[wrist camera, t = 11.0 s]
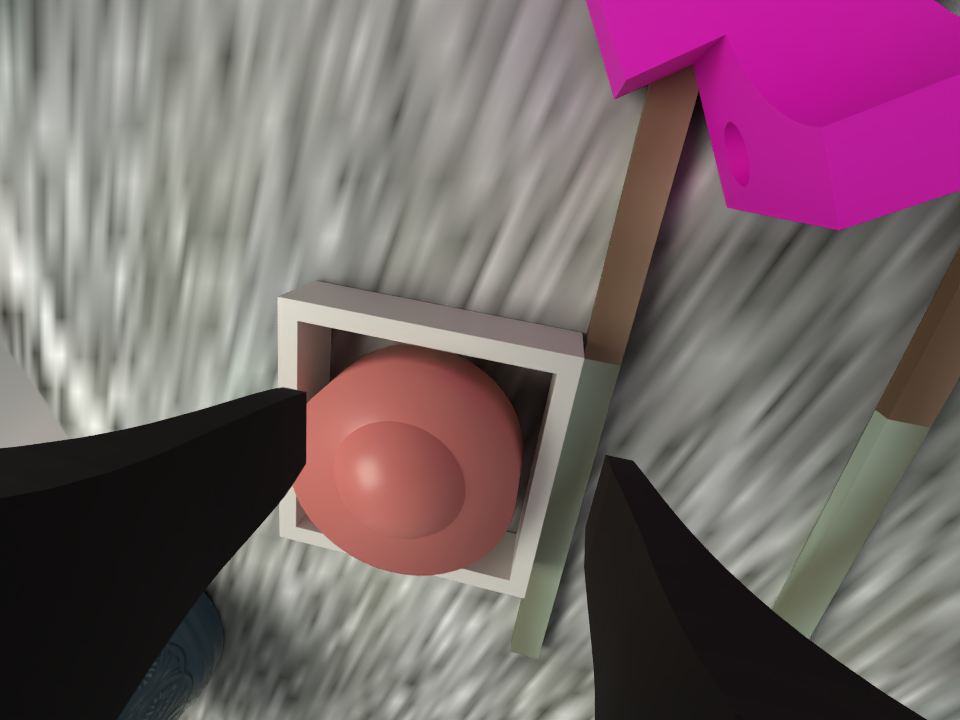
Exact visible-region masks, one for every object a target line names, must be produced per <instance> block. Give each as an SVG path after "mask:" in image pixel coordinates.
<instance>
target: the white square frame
mask: <svg viewBox="0 0 960 720" xmlns="http://www.w3.org/2000/svg"><path fill="white" fill-rule="evenodd" d="M332 328H335V329H340V330H345V331H349V332H354V333H359V334H364V335H369V336H374V337H379V338H384V339H389V340H393V341H398V342H403V343H408V344H413V345H418V346H423V347H428V348H432V349H437V350H442V351H447V352H452V353H457V354H462V355H467V356H472V357H476V358H481V359H486V360H491V361H496V362H501V363H506V364H511V365H516V366H520V367H525V368H530V369H535V370H540V371H545V372H550V373H553V375H552V379H551V383H550V388H549V392H548V397H547V401H546V405H545V410H544V414H543V419H542V423H541V428H540V432H539V436H538V441H537V445H536V450H535V454H534V458H533V463H532V467H531V472H530V476H529V481H528V485H527V489H526V494H525V498H524V503H523V507H522V512H521V516H520V520H519V525H518V529H517V534H515V533H511V532H506V533H505V535H504V536H503V537H502V539H501V540H500V542H499V543H498V544H497V545H496V546H495V547H494V548H493V549H492V550H491V551H490V552H489V553H488V554H487V555H485V556H484V557H483V558H481V559H480V560H478V561H476V562H475V563H473V564H471V565H469V566H467V567H464V568H462V569H459V570H456V571H453V572H448V573H444V574H437V575H434V576H438V577H442V578H446V579H450V580H453V581H457V582H461V583H465V584H469V585H473V586H477V587H481V588H485V589H489V590H493V591H497V592H501V593H505V594H509V595H513V596H516V597H520V598H525V594H526V590H527V586H528V582H529V578H530V574H531V570H532V566H533V562H534V558H535V554H536V550H537V546H538V542H539V538H540V534H541V530H542V526H543V522H544V518H545V514H546V510H547V506H548V502H549V498H550V494H551V490H552V486H553V482H554V478H555V474H556V470H557V466H558V462H559V458H560V454H561V450H562V446H563V442H564V438H565V434H566V430H567V426H568V422H569V418H570V414H571V410H572V406H573V402H574V398H575V394H576V390H577V386H578V382H579V378H580V374H581V370H582V366H583V362H584V348H583V336H582V333H581V332H576V331H571V330H566V329H561V328H556V327H550V326H545V325H540V324H535V323H530V322H525V321H520V320H515V319H509V318H504V317H499V316H494V315H489V314H484V313H479V312H474V311H468V310H463V309H458V308H453V307H448V306H443V305H438V304H432V303H427V302H422V301H417V300H412V299H407V298H402V297H397V296H391V295H386V294H381V293H376V292H371V291H366V290H361V289H355V288H350V287H345V286H340V285H335V284H330V283H325V282H320V281H314V282H312V283H309V284H307V285H305V286H302V287H300V288H297V289H295V290H293V291H290V292H288V293H285V294H283V295H281V296H278V388H281V387H285V388H290V389H295V390H300V391H304V392H307V403H308V402H309V401H310V400H311V399H312V398H313V397H314V396H315V395H316V394H317V393H318V392H320V391H321V390H322V389H323V388H324V387H325V386H326V385H328V384H329V383H330V362H331V334H332ZM279 514H280V537H284V538H288V539H292V540H296V541H300V542H304V543H308V544H312V545H316V546H320V547H324V548H327V549H331V550H335V551H339V552H343V553H346V552H345V551H343V550H342V549H340V548H339V547H337V546H336V545H335V544H334V543H333V542H331V541H330V540H329V539H328V538H327V537H326V536H325V535H324V534H323V533H322V532H321V531H320V530H319V529H318V528H317V527H316V526H315V525H314V523H313V522H312V521H311V520H310V518H309V517H308V516H307V514H306V512H305V511H304V509H303V508H302V506H301V504H300V502H299V500H298V498H297V496H296V494H295V491H294V488H293V486H292V487H291V488H290V490H289V491H288V493H287V494H286V495H285V497H284V498H283V499H282V500H281V502H280V503H279ZM347 554H348V553H347Z"/></svg>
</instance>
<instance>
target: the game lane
mask: <svg viewBox="0 0 960 720" xmlns="http://www.w3.org/2000/svg"><path fill="white" fill-rule="evenodd" d="M698 91H699V89H698V85H697V81H696V76H695V72H694V68H693V64H692V65H690V66H688V67H685V68H683V69H681V70H679V71H677V72H674V73H672V74H670V75H668V76H665V77H663V78H661V79H659V80H657V81H654V82H652V83H650V84H649V85H648V89H647V93H646V97H645V101H644V105H643V109H642V113H641V118H640V122H639V126H638V130H637V134H636V138H635V142H634V146H633V150H632V154H631V158H630V162H629V166H628V170H627V174H626V178H625V182H624V186H623V190H622V194H621V198H620V202H619V206H618V211H617V215H616V219H615V223H614V227H613V231H612V235H611V239H610V243H609V247H608V251H607V255H606V259H605V263H604V267H603V271H602V275H601V279H600V283H599V287H598V291H597V295H596V300H595V304H594V308H593V312H592V316H591V320H590V324H589V328H588V332H587V336H586V340H585V344H584V362H583V366H582V370H581V374H580V378H579V382H578V386H577V390H576V394H575V398H574V402H573V406H572V410H571V414H570V418H569V422H568V426H567V430H566V434H565V438H564V442H563V446H562V450H561V454H560V458H559V462H558V466H557V470H556V474H555V478H554V482H553V486H552V490H551V494H550V498H549V502H548V506H547V510H546V514H545V518H544V522H543V526H542V530H541V534H540V538H539V542H538V546H537V550H536V554H535V558H534V562H533V566H532V570H531V574H530V578H529V582H528V586H527V590H526V594H525V598H522V599H521V603H520V607H519V611H518V615H517V619H516V623H515V627H514V631H513V635H512V640H511V649H510V651H511V652H514V653H518V654H522V655H526V656H530V657H533V658H537V659H538V657H539V653H540V650H541V646H542V643H543V639H544V636H545V632H546V629H547V625H548V622H549V618H550V615H551V611H552V608H553V604H554V600H555V597H556V593H557V590H558V586H559V583H560V579H561V576H562V572H563V569H564V565H565V562H566V558H567V554H568V551H569V547H570V544H571V540H572V537H573V533H574V530H575V526H576V523H577V519H578V516H579V512H580V508H581V505H582V501H583V498H584V494H585V491H586V487H587V484H588V480H589V477H590V473H591V470H592V466H593V462H594V459H595V455H596V452H597V448H598V445H599V441H600V438H601V434H602V431H603V427H604V424H605V420H606V416H607V413H608V409H609V406H610V402H611V399H612V395H613V392H614V388H615V385H616V381H617V378H618V374H619V370H620V367H621V363H622V360H623V356H624V353H625V349H626V346H627V342H628V339H629V335H630V332H631V328H632V324H633V321H634V317H635V314H636V310H637V307H638V303H639V300H640V296H641V293H642V289H643V286H644V282H645V279H646V275H647V271H648V268H649V264H650V261H651V257H652V254H653V250H654V247H655V243H656V240H657V236H658V233H659V229H660V225H661V222H662V218H663V215H664V211H665V208H666V204H667V201H668V197H669V194H670V190H671V187H672V183H673V179H674V176H675V172H676V169H677V165H678V162H679V158H680V155H681V151H682V148H683V144H684V141H685V137H686V133H687V130H688V126H689V123H690V119H691V116H692V112H693V109H694V105H695V102H696V98H697V95H698ZM959 378H960V248H959V250H958V252H957V254H956V256H955V258H954V259H953V261H952V263H951V265H950V267H949V269H948V271H947V273H946V275H945V277H944V279H943V281H942V283H941V285H940V286H939V288H938V290H937V292H936V294H935V296H934V298H933V300H932V302H931V304H930V306H929V308H928V310H927V312H926V313H925V315H924V317H923V319H922V321H921V323H920V325H919V327H918V329H917V331H916V333H915V335H914V337H913V339H912V340H911V342H910V344H909V346H908V348H907V350H906V352H905V354H904V356H903V358H902V360H901V362H900V364H899V366H898V367H897V369H896V371H895V373H894V375H893V377H892V379H891V381H890V383H889V385H888V387H887V389H886V391H885V393H884V394H883V396H882V398H881V400H880V402H879V404H878V406H877V408H876V410H875V412H874V414H873V416H872V418H871V420H870V421H869V423H868V425H867V427H866V429H865V431H864V433H863V435H862V437H861V439H860V441H859V443H858V445H857V447H856V448H855V450H854V452H853V454H852V456H851V458H850V460H849V462H848V464H847V466H846V468H845V470H844V472H843V474H842V475H841V477H840V479H839V481H838V483H837V485H836V487H835V489H834V491H833V493H832V495H831V497H830V499H829V501H828V502H827V504H826V506H825V508H824V510H823V512H822V514H821V516H820V518H819V520H818V522H817V524H816V526H815V528H814V529H813V531H812V533H811V535H810V537H809V539H808V541H807V543H806V545H805V547H804V549H803V551H802V553H801V555H800V556H799V558H798V560H797V562H796V564H795V566H794V568H793V570H792V572H791V574H790V576H789V578H788V580H787V582H786V583H785V585H784V587H783V589H782V591H781V593H780V595H779V597H778V599H777V601H776V603H775V605H774V607H773V609H772V610H773V611H774V612H775V613H776V614H778V615H779V616H780V617H781V618H783V619H784V620H785V621H786V622H788V623H789V624H790V625H791V626H793V627H794V628H795V629H796V630H798V631H799V632H800V633H801V634H803V635H804V636H805V637H806V638H808V639H809V638H810V636H811V635H812V633H813V631H814V629H815V628H816V626H817V624H818V622H819V621H820V619H821V617H822V615H823V614H824V612H825V610H826V608H827V607H828V605H829V603H830V602H831V600H832V598H833V596H834V595H835V593H836V591H837V589H838V588H839V586H840V584H841V582H842V581H843V579H844V577H845V576H846V574H847V572H848V570H849V569H850V567H851V565H852V563H853V562H854V560H855V558H856V556H857V555H858V553H859V551H860V549H861V548H862V546H863V544H864V543H865V541H866V539H867V537H868V536H869V534H870V532H871V530H872V529H873V527H874V525H875V523H876V522H877V520H878V518H879V517H880V515H881V513H882V511H883V510H884V508H885V506H886V504H887V503H888V501H889V499H890V497H891V496H892V494H893V492H894V491H895V489H896V487H897V485H898V484H899V482H900V480H901V478H902V477H903V475H904V473H905V471H906V470H907V468H908V466H909V464H910V463H911V461H912V459H913V458H914V456H915V454H916V452H917V451H918V449H919V447H920V445H921V444H922V442H923V440H924V438H925V437H926V435H927V433H928V432H929V430H930V428H931V426H932V425H933V423H934V421H935V419H936V418H937V416H938V414H939V412H940V411H941V409H942V407H943V405H944V404H945V402H946V400H947V399H948V397H949V395H950V393H951V392H952V390H953V388H954V386H955V385H956V383H957V381H958V379H959Z"/></svg>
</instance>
